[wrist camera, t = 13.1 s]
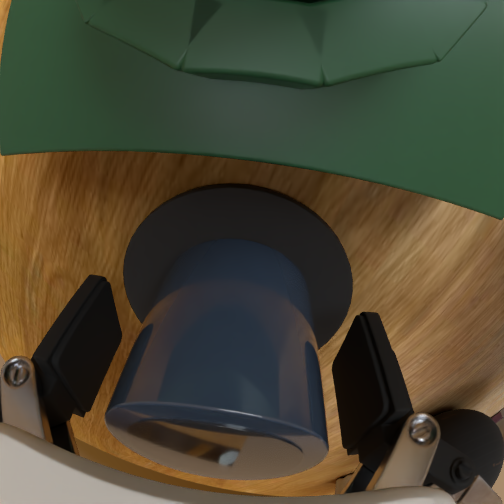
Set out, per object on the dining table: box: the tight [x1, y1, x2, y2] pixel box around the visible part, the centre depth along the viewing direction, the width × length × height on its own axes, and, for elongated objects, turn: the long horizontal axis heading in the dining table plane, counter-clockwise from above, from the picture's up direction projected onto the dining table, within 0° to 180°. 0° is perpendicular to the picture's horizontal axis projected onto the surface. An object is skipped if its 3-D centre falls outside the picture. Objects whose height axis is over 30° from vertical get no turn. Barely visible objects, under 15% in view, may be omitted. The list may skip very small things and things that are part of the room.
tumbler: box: [104, 239, 329, 480], centre depth 8 cm, size 6×6×6 cm
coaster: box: [123, 184, 353, 349], centre depth 11 cm, size 9×9×1 cm
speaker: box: [434, 409, 504, 488], centre depth 13 cm, size 10×10×10 cm
